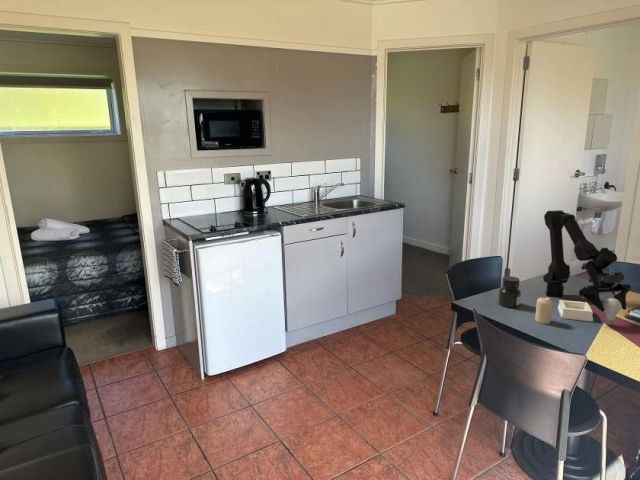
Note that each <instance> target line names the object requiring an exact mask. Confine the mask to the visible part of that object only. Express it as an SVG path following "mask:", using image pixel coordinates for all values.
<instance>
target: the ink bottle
mask: <svg viewBox="0 0 640 480" xmlns="http://www.w3.org/2000/svg"><path fill="white" fill-rule="evenodd" d="M501 282H502V283H501V287H500V288H499V289H498V298H497V303H498V304H499V305H500V306H501V307H504V308H510V309H511V308H519V307H520V305H521V297H522V295H521V294H522V292H521V290H520V289H519V287H520V278H519V277H516V276H511V275H509V276H508V275H506V276H503V277H502V281H501Z"/></svg>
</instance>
